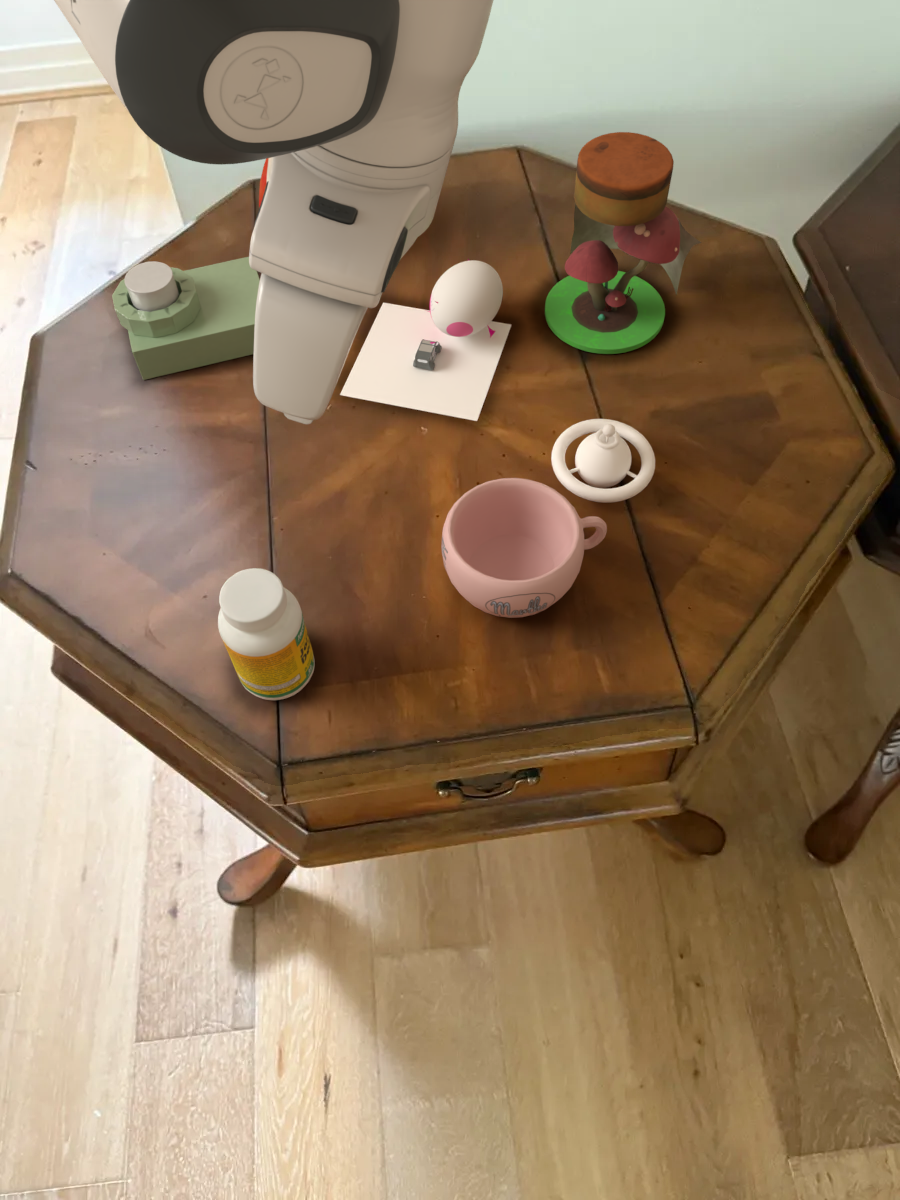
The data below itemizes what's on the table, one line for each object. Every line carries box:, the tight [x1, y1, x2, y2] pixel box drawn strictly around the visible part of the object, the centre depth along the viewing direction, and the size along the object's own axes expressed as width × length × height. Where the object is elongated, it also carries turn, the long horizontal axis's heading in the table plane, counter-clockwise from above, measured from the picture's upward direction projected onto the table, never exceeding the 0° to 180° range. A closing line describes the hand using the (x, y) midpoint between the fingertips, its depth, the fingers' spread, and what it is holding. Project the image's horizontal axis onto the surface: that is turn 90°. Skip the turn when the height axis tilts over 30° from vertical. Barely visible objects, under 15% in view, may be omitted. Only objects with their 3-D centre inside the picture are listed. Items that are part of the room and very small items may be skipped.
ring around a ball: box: [550, 418, 656, 504], centre depth 74 cm, size 8×6×8 cm
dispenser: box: [111, 256, 261, 381], centre depth 84 cm, size 12×9×5 cm
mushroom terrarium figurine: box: [544, 131, 702, 355], centre depth 80 cm, size 12×13×15 cm
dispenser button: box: [124, 260, 179, 312], centre depth 81 cm, size 4×4×2 cm
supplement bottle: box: [217, 567, 316, 701], centre depth 63 cm, size 5×5×10 cm
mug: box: [440, 477, 608, 619], centre depth 69 cm, size 12×10×6 cm
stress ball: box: [424, 258, 504, 338], centre depth 84 cm, size 8×8×7 cm
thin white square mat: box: [339, 302, 512, 422], centre depth 83 cm, size 12×12×2 cm
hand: (320, 361), depth 61 cm, fingers open, 8 cm apart
